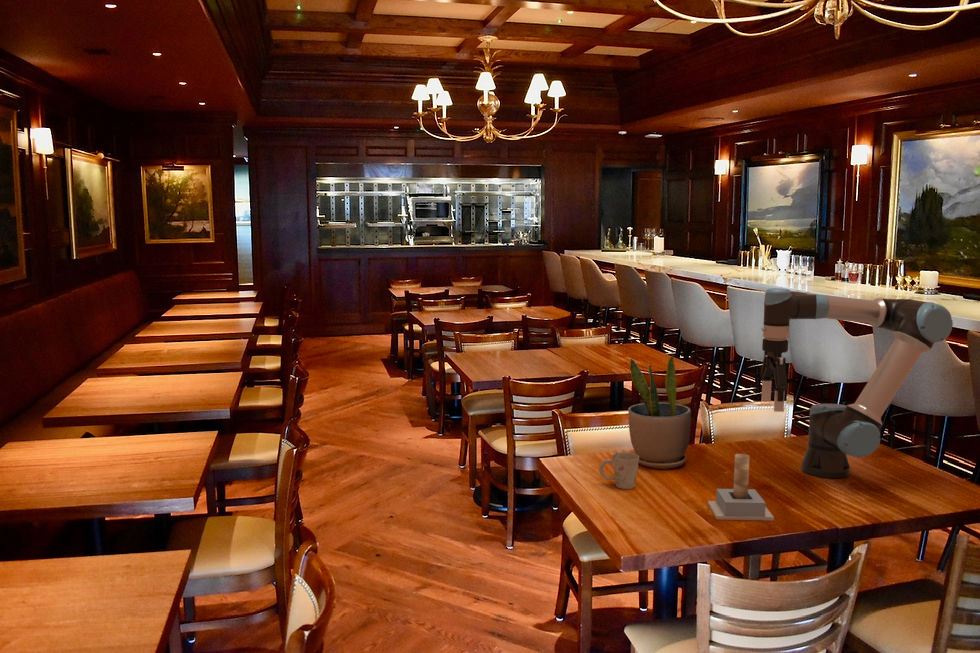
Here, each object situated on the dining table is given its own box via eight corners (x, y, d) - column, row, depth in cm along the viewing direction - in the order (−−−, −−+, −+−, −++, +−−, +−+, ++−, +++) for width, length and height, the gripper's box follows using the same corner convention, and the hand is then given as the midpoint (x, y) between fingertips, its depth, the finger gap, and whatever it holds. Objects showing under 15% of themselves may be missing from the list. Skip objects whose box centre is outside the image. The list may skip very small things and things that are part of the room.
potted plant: (614, 461, 278) (616, 349, 272) (653, 450, 292) (656, 342, 286) (663, 476, 262) (666, 357, 256) (701, 463, 276) (706, 350, 270)
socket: (762, 505, 237) (762, 489, 236) (773, 520, 225) (774, 503, 224) (707, 504, 238) (708, 488, 237) (716, 519, 226) (717, 502, 225)
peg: (745, 506, 233) (747, 453, 231) (748, 511, 229) (751, 457, 227) (731, 506, 233) (733, 453, 231) (734, 511, 229) (736, 457, 227)
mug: (638, 491, 249) (638, 460, 247) (597, 488, 251) (598, 458, 250) (638, 482, 257) (639, 452, 255) (599, 480, 259) (600, 450, 258)
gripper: (752, 332, 257) (749, 396, 260) (775, 345, 232) (771, 415, 235) (775, 332, 256) (772, 396, 259) (801, 345, 232) (797, 416, 235)
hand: (772, 406), depth 247 cm, fingers open, 13 cm apart
